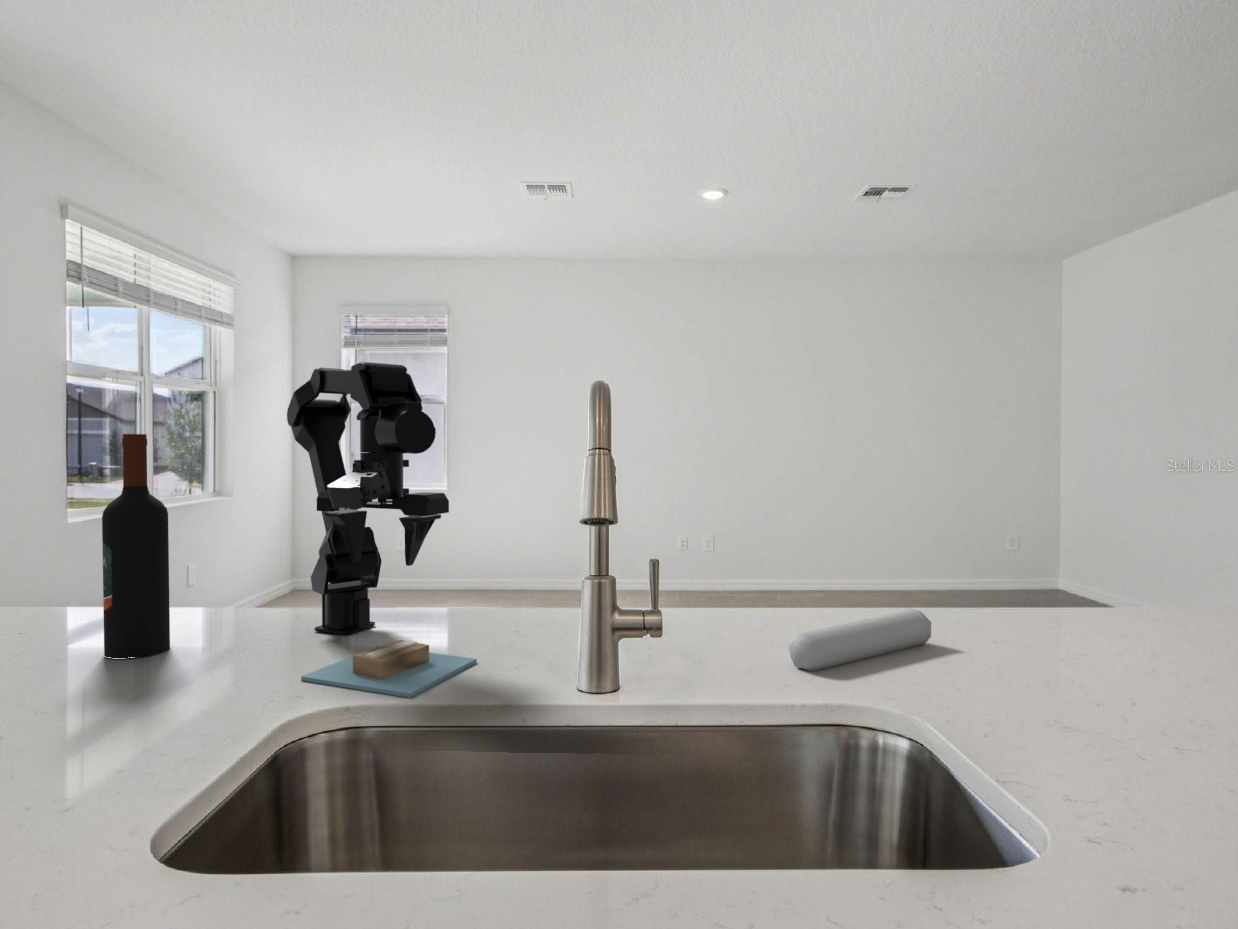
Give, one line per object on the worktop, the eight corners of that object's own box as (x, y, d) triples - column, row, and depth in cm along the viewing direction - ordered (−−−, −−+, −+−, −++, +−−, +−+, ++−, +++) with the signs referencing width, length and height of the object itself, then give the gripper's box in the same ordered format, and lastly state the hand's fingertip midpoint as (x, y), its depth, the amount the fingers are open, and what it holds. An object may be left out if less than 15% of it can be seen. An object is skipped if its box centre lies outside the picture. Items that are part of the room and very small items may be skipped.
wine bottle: (137, 661, 94) (133, 433, 93) (89, 657, 95) (85, 433, 94) (183, 645, 101) (180, 434, 100) (138, 642, 103) (135, 434, 102)
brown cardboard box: (401, 656, 95) (401, 637, 95) (429, 661, 93) (429, 642, 93) (352, 673, 88) (352, 653, 88) (381, 679, 86) (381, 659, 86)
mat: (301, 680, 87) (301, 676, 87) (378, 649, 100) (378, 645, 100) (410, 698, 81) (410, 693, 81) (476, 662, 94) (476, 658, 94)
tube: (816, 648, 89) (936, 620, 102) (786, 626, 93) (906, 602, 106) (805, 684, 90) (925, 652, 104) (777, 661, 95) (896, 633, 108)
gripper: (285, 452, 96) (286, 568, 96) (400, 454, 89) (400, 578, 89) (344, 451, 106) (345, 556, 106) (451, 453, 99) (451, 564, 100)
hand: (382, 563), depth 100 cm, fingers open, 9 cm apart
